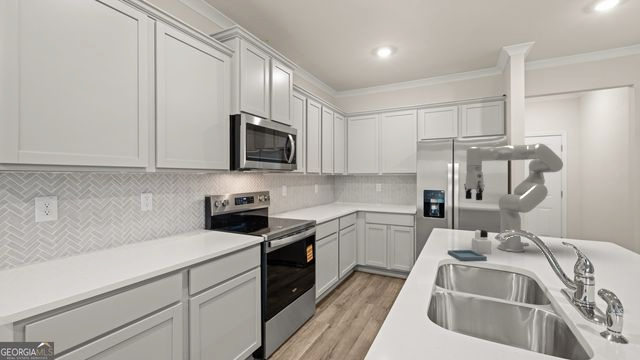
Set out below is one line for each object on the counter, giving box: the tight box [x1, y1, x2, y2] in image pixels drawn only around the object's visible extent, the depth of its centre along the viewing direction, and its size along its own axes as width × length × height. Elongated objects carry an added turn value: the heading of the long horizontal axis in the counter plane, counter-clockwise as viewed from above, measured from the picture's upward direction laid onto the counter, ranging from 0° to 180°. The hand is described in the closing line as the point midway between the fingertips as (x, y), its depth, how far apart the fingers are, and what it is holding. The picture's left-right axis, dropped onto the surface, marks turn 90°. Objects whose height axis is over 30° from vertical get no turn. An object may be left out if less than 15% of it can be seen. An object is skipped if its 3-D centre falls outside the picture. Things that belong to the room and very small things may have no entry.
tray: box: [447, 249, 488, 262], centre depth 142 cm, size 13×13×2 cm
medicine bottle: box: [471, 229, 492, 255], centre depth 151 cm, size 7×7×12 cm
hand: (473, 199), depth 153 cm, fingers open, 9 cm apart
